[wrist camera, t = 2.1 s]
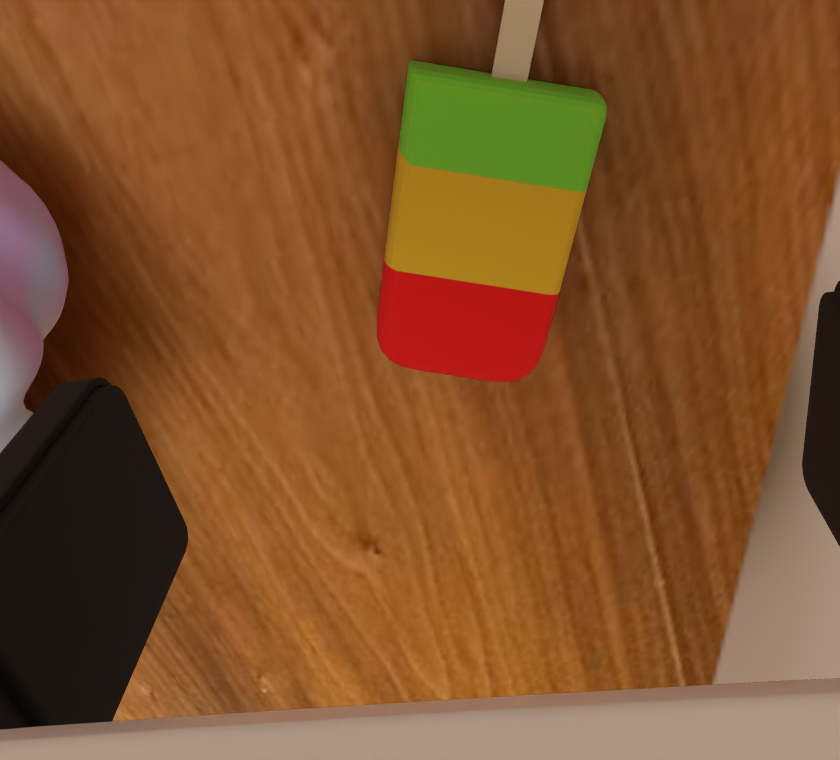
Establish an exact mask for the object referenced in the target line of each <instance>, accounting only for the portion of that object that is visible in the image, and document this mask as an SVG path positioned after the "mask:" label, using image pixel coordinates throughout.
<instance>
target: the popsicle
mask: <svg viewBox="0 0 840 760" xmlns="http://www.w3.org/2000/svg"><path fill="white" fill-rule="evenodd" d="M543 2H544V0H505V3H504V8H503V14H502V19H501V25H500V30H499V36H498V41H497V47H496V52H495V58H494V63H493V69H492V73H487V72H481V71H475V70H469V69H463V68H457V67H451V66H444V65H438V64H432V63H426V62H420V61H414V60H411V61H410V62H409V65H408V73H407V81H406V89H405V97H404V105H403V113H402V121H401V129H400V137H399V145H398V153H397V161H396V169H395V177H394V185H393V193H392V201H391V209H390V217H389V225H388V233H387V241H386V249H385V257H384V265H383V273H382V281H381V289H380V297H379V305H378V313H377V340H378V343H379V346H380V349H381V350H382V352H383V353H384V354H385V355H386V356H387V357H388V359H389V360H391V361H393V362H394V363H396V364H398V365H400V366H403V367H407V368H411V369H415V370H420V371H427V372H433V373H440V374H446V375H453V376H459V377H466V378H472V379H479V380H485V381H495V382H510V381H516V380H520V379H521V378H523V377H525V376H527V375H529V374H530V372H531V371H532V370H533V369H534V368H535V366H536V365H537V364H538V363H539V361H540V358H541V356H542V353H543V351H544V348H545V344H546V341H547V337H548V333H549V329H550V326H551V322H552V318H553V314H554V311H555V307H556V303H557V299H558V296H559V292H560V288H561V284H562V281H563V277H564V273H565V269H566V266H567V262H568V258H569V255H570V251H571V247H572V243H573V240H574V236H575V232H576V228H577V225H578V221H579V217H580V213H581V210H582V206H583V202H584V198H585V195H586V191H587V187H588V183H589V180H590V176H591V172H592V168H593V165H594V161H595V157H596V153H597V150H598V146H599V142H600V139H601V135H602V131H603V127H604V124H605V120H606V115H607V106H606V102H605V100H604V99H603V97H602V96H601V95H600V94H599V93H598V92H597V91H595V90H591V89H585V88H579V87H573V86H567V85H561V84H555V83H549V82H542V81H536V80H530V79H528V75H529V70H530V65H531V60H532V55H533V50H534V46H535V41H536V36H537V31H538V26H539V21H540V17H541V12H542V7H543Z"/></svg>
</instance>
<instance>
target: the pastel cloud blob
mask: <svg viewBox="0 0 840 760" xmlns="http://www.w3.org/2000/svg"><path fill="white" fill-rule="evenodd" d="M68 284H69V279H68V269H67V263H66V258H65V253H64V248H63V244H62V240H61V237H60V234H59V231H58V228H57V225H56V224H55V222H54V220H53V218H52V216H51V215H50V213H49V211H48V209H47V207H46V205H45V204H44V203H43V202H42V200H41V199H40V198H39V197H38V195H37V194H36V193H35V192H34V190H33V189H32V188H31V187H30V186H29V185H28V184H27V183H25V182H24V181H23V180H22V179H21V178H19V177H18V176H17V175H16V174H15V173H14V172H13V171H12V170H11V169H10V168H9V167H7V166H6V165H5V164H4V163H3V162H2V161H1V160H0V453H1V451H2V450H3V449H4V448H5V447H6V445H7V444H8V443H9V442H10V441H11V439H12V438H13V437H14V436H15V435H16V433H17V432H18V431H19V430H20V429H21V427H22V426H23V425H24V424H25V423H26V421H27V420H28V419H29V418H30V417H31V416H32V414H33V412H31V411H29V410H28V409H26V407H25V405H24V402H23V400H24V397H25V394H26V392H27V390H28V389H29V387H30V385H31V383H32V382H33V380H34V378H35V376H36V375H37V372H38V370H39V367H40V365H41V361H42V357H43V345H44V343H43V340H44V338H45V337H46V336H47V334H48V333H49V332H50V331H51V330H52V328H53V327H54V326H55V324H56V322H57V321H58V319H59V317H60V316H61V313H62V310H63V307H64V303H65V298H66V293H67V288H68Z"/></svg>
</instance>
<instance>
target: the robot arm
mask: <svg viewBox="0 0 840 760" xmlns="http://www.w3.org/2000/svg"><path fill="white" fill-rule="evenodd" d="M802 468H803V476H804V480H805V483H806V486H807V489H808V491H809V493H810V495H811V496H812V498H813V500H814V502H815V503H816V505H817V507H818V509H819V511H820V512H821V514H822V516H823V518H824V519H825V521H826V523H827V525H828V526H829V528H830V530H831V532H832V534H833V535H834V537H835V539H836V541H837V543H838V544H839V546H840V281H839V282H838V284H837V285H836V287H835V291H834V292H827V293H825V294H823V296H822V298H821V300H820V305H819V313H818V322H817V332H816V342H815V350H814V360H813V368H812V378H811V386H810V396H809V405H808V414H807V423H806V433H805V442H804V451H803V460H802ZM187 543H188V532H187V527H186V524H185V521H184V519H183V517H182V515H181V513H180V511H179V509H178V507H177V504H176V502H175V500H174V498H173V496H172V494H171V492H170V490H169V487H168V485H167V483H166V481H165V479H164V477H163V475H162V472H161V470H160V468H159V466H158V464H157V462H156V460H155V458H154V455H153V453H152V451H151V449H150V447H149V445H148V443H147V441H146V438H145V436H144V434H143V432H142V430H141V428H140V426H139V423H138V421H137V419H136V417H135V415H134V413H133V411H132V409H131V406H130V404H129V402H128V400H127V398H126V396H125V394H124V392H123V391H122V390H121V389H120V388H119V387H117V386H111V384H110V383H109V382H108V381H107V380H106V379H103V378H93V379H85V380H78V381H70V382H64V383H60V384H59V385H57V386H56V387H55V388H54V389H53V390H52V392H51V393H50V394H49V395H48V396H47V398H46V399H45V400H44V401H43V402H42V404H41V405H40V406H39V407H38V408H37V410H36V411H35V412H34V413H33V414H32V416H31V417H30V418H29V419H28V420H27V421H26V423H25V424H24V425H23V426H22V427H21V429H20V430H19V431H18V432H17V433H16V435H15V436H14V437H13V438H12V439H11V441H10V442H9V443H8V444H7V445H6V447H5V448H4V449H3V450H2V451H1V453H0V760H840V678H835V679H811V680H789V681H770V682H754V683H735V684H717V685H699V686H681V687H664V688H646V689H628V690H610V691H592V692H574V693H557V694H539V695H522V696H506V697H489V698H473V699H456V700H440V701H423V702H407V703H390V704H374V705H358V706H342V707H326V708H310V709H294V710H278V711H262V712H246V713H231V714H217V715H202V716H187V717H172V718H157V719H142V720H128V721H113V722H112V720H113V718H114V715H115V713H116V711H117V708H118V706H119V704H120V701H121V699H122V697H123V694H124V692H125V690H126V688H127V685H128V683H129V681H130V678H131V676H132V674H133V671H134V669H135V667H136V664H137V662H138V660H139V657H140V655H141V653H142V651H143V648H144V646H145V644H146V641H147V639H148V637H149V634H150V632H151V630H152V627H153V625H154V623H155V620H156V618H157V616H158V614H159V611H160V609H161V607H162V604H163V602H164V600H165V597H166V595H167V593H168V590H169V588H170V586H171V583H172V581H173V579H174V576H175V574H176V572H177V570H178V567H179V565H180V563H181V560H182V558H183V556H184V553H185V551H186V548H187Z"/></svg>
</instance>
